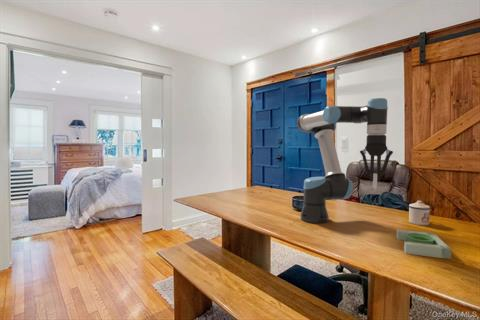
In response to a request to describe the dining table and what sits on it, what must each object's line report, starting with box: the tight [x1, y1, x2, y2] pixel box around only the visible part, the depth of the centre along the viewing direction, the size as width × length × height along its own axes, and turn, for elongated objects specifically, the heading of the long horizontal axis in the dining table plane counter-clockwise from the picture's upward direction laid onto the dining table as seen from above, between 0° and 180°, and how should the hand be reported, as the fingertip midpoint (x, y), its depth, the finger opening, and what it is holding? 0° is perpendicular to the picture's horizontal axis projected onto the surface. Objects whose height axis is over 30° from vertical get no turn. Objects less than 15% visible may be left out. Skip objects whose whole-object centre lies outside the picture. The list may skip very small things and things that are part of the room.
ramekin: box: [407, 233, 435, 245], centre depth 99 cm, size 9×9×4 cm
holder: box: [396, 229, 452, 260], centre depth 99 cm, size 14×18×4 cm
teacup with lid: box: [408, 200, 431, 226], centre depth 131 cm, size 12×9×12 cm
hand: (374, 188), depth 110 cm, fingers closed
